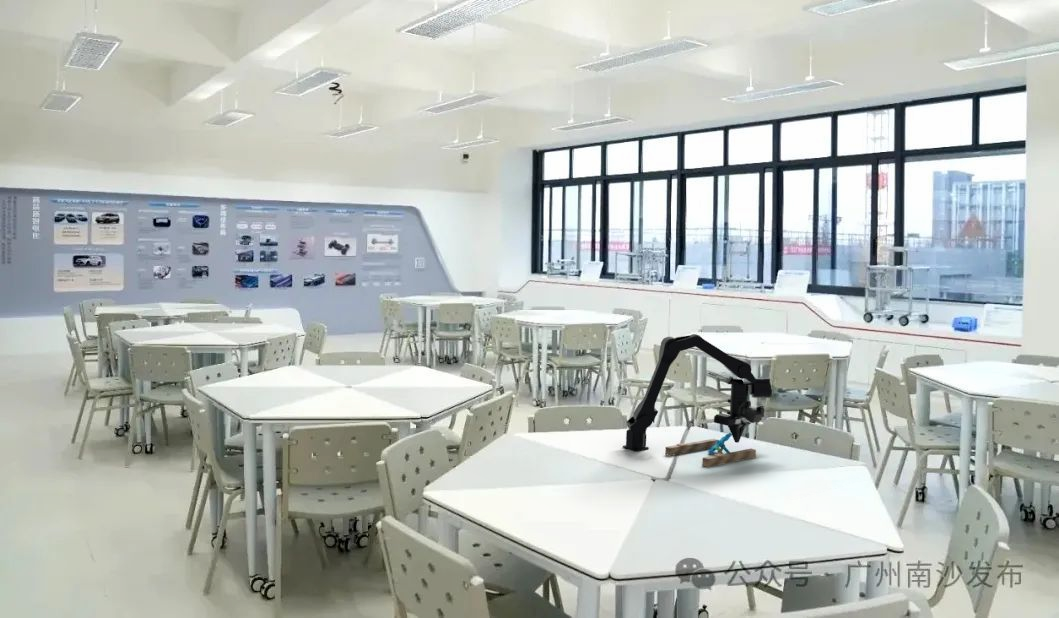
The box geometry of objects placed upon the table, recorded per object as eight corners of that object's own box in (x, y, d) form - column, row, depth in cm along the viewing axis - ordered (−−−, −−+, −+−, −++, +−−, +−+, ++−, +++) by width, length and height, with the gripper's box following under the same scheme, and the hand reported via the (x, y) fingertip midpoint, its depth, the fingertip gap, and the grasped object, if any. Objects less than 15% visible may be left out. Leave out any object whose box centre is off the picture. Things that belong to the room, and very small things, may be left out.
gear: (710, 444, 275) (731, 427, 271) (722, 457, 274) (744, 440, 270) (702, 455, 265) (724, 438, 261) (715, 469, 264) (737, 452, 260)
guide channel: (707, 467, 252) (707, 458, 251) (665, 454, 266) (665, 446, 266) (755, 457, 266) (756, 448, 266) (713, 445, 280) (713, 437, 280)
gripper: (740, 403, 261) (738, 450, 262) (776, 398, 272) (773, 444, 273) (713, 397, 270) (711, 443, 271) (749, 393, 281) (746, 437, 282)
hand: (736, 442), depth 274 cm, fingers closed
